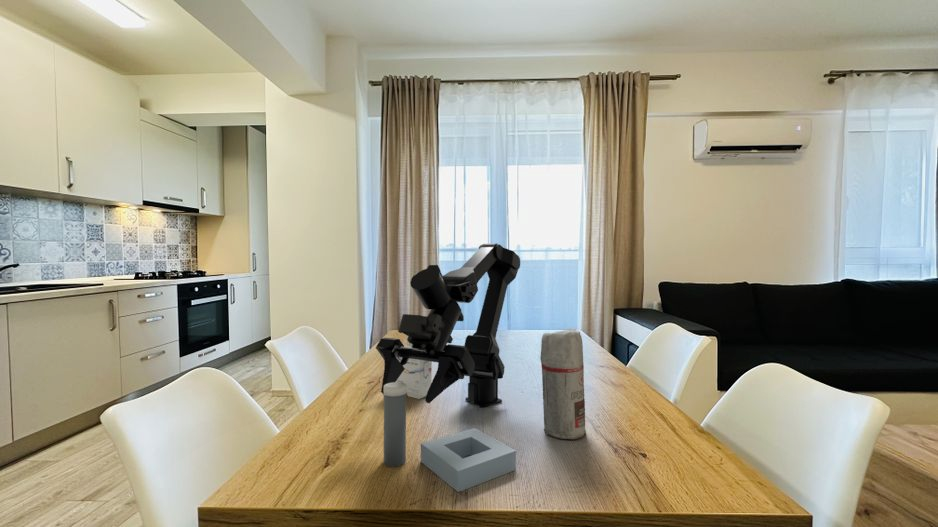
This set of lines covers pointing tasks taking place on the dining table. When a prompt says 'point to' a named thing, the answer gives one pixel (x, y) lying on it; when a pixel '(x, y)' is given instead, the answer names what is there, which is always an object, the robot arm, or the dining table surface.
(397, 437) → the peg
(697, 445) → the dining table surface
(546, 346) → the spray can
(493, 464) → the socket
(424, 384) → the ink cartridge box
